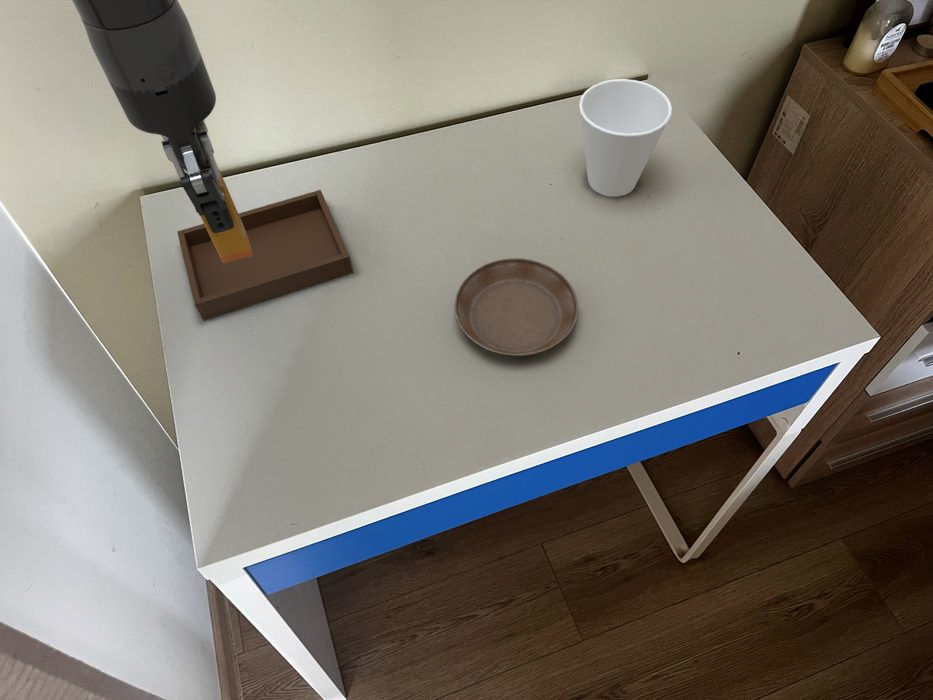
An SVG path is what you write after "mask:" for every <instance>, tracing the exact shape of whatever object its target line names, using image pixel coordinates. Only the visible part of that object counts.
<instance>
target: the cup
mask: <svg viewBox="0 0 933 700" xmlns="http://www.w3.org/2000/svg"><path fill="white" fill-rule="evenodd" d="M578 109H579V114H580V120H581V130H582V131H581V132H582V138H583V139H582V140H583V149H584V157H585V165H586V166H585V167H586V173H587V174H586V175H587V181H588V184H589V187H590V188H591V189H592V190H593V191H594V192H596V193H598V194H599V195H602V196H605V197H610V198H611V197H612V198H614V197H622V196H626V195H628V194H630V193H631V192H632V191H633V190H634V189H635V188H636V186H637V183H638V182H639V180H640V177H641V176H642V174H643V172H644V170H645V168H646V165H647V164H648V162H649V160H650V158H651V157H652V154H653V152H654V150H655V148H656V146H657V144H658V142H659V140H660V138H661V136H662V134H663V132H664V130H665V128H666V127H667V125H668V123H669V121H670V119H671V118H672V114H673V107H672V104H671V100H670V99H669V98H668V97H667V95H666V94H665V93H664V92H663V91H662V90H660V89H659V88H658V87H656V86H654V85H652V84H649V83H647V82H644V81H640V80H636V79H629V78H628V79H627V78H614V79H608V80H604V81H600V82H598V83H595V84H593V85H591V86H590V87H589V88H587V89H586V90H585V91H584V92H583V94H582V95H581V97H580V98H579V102H578Z"/></svg>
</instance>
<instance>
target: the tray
mask: <svg viewBox="0 0 933 700" xmlns="http://www.w3.org/2000/svg"><path fill="white" fill-rule="evenodd" d="M238 214H239V216H240V219H241V221H242V223H243V226H244V228H245V230H246V233H247V235H248V239H249V242H250V246H251V250H252V256H250V257H245V258H241V259H238V260H234V261H231V262H228V263H223V262H222V261H221V259H220V257H219V254H218V252H217V250H216V248H215V246H214V244H213V242H212V240H211V237H210V235H209V233H208V231H207V229H206V227H205V225H204V223H202V224H198V225H194V226H191V227H187V228H184V229H180V230H177V231H176V233H177V237H178V240H179V245H180V249H181V254H182V258H183V262H184V266H185V270H186V274H187V278H188V283H189V287H190V291H191V296H192V299H193V304H194V306H195V308H196V310H197V312H198V313H199V315H200V317H201V319H202V321H205V320H208V319H211V318H215V317H218V316H221V315H224V314H227V313H230V312H234V311H236V310H241V309H243V308H247V307H249V306H252V305H255V304H259V303H262V302H265V301H268V300H271V299H274V298H278V297H280V296H283V295H287V294H289V293H293V292H296V291H300V290H303V289H305V288H309V287H313V286H315V285H319V284H322V283H324V282H329V281H331V280H333V279H337V278H340V277H343V276H347V275H350V274H352V273H354V270H353V265H352V261H351V257H350V254H349V252H348V250H347V247H346V245H345V243H344V240H343V238H342V235H341V233H340V231H339V229H338V226H337V224H336V222H335V220H334V217H333V215H332V212H331V210H330V208H329V206H328V204H327V201H326V199H325V196H324V193H323V192H322V189H318V190H315V191H311V192H307V193H305V194H300V195H298V196H294V197H291V198H287V199H284V200H281V201H277V202H273V203H270V204H266V205H263V206H260V207H256V208H253V209H250V210H246V211H242V212H238Z"/></svg>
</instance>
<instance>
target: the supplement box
mask: <svg viewBox="0 0 933 700" xmlns="http://www.w3.org/2000/svg"><path fill="white" fill-rule="evenodd" d="M207 169H209V168H207ZM207 169H204V170H207ZM204 170H201V171H204ZM219 172H220V176H221V177H220V180H219V181H218V184H219V186H220V189H221V191H222V192H223V193H224V195H225V197H224V199H225V201H226V205H227V208H228V210H229V213H230V215H231V217H232V220H233V223H234V227H233V228H232V229H230V230H226V231H223V232H219V233H213V232H212V231H211V229H210V226H209V224H208V222H207V220H206V218H205V215H201V216H200V215H199V217H200V219H201V221H202V224H204V225H205V227H206V229H207V231H208V233H209V235H210V237H211V240H212V242H213V244H214V246H215V248H216V250H217V252H218V254H219V257H220V259H221V261H222V262H223V263H228V262H231V261H234V260H238V259H241V258H245V257H250V256H252V250H251V246H250V242H249V239H248V235H247V233H246V230H245V228H244V226H243V223H242V221H241V219H240V216H239V212H238V210H237V207H236V205H235V202H234V200H233V198H232V196H231V193H230V191H229V189H228V186H227V183H226V182H225V179H224V178H223V174H222V173H221V170H220V169H219Z"/></svg>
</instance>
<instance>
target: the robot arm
mask: <svg viewBox="0 0 933 700" xmlns="http://www.w3.org/2000/svg"><path fill="white" fill-rule="evenodd" d="M71 1H72V3H73V5H74V7H75V9H76V11H77V13H78V15H79V17H80V20H81V22H82V24H83V26H84V30H85V32H86V35H87V38H88V42H89V43H90V46H91V49H92V50H93V53H94V55H95V57H96V59H97V61H98V63H99V65H100V67H101V69H102V71H103V73H104V74H105V75H104V76H105V77H106V79H107V81H108V83H109V84H110V87H111V89H112V90H113V92H114V95H115V96H116V98H117V100H118V102H119V105H120V107H121V109H122V111H123V112H124V114H125V116H126V118H127V120H128V122H129V123H130V124H131V125H132V127H135V128H136V129H137V130H139V131H141V132H144V133H147V134H152V135H159V136H161V137H162V140H161V141H160V142H161V146H162V149H163V151H164V153H165V156H166V159H167V160H168V161H169V162H171V163H172V165H173V167H174V169H175V171H176V173H177V176H178V178H179V180H180V181H179V184H180V187H181V188H183V190H184V192H185V193H186V195H187V197H188V198H189V200H190V202H191V204H192V206H193V207H194V209H195V212H196V213H197V214H198V216H199V217H200V216H201V215H205V218H206V220H207V222H208V224H209V226H210V229H211V231H212V232H213V233H219V232H223V231H226V230H230V229H232V228H233V227H234V223H233V220H232V217H231V215H230V213H229V210H228V208H227V205H226V201H225V199H224V197H225V195H224V193H223V192H222V191H221V189H220V186H219V184H218V181H219V180H220V177H221V176H220V173H221V171H220V172H219V170H220V168H219V166H218V163H217V161H216V158H215V156H214V154H215V150H214V147H213V143H212V141H211V138H210V135H209V130H208V126H207V123H206V119H207V118H208V117H209V116H210V115H211V113H212V112H213V110H214V109H215V106H216V101H217V94H216V91H215V88H214V86H213V83H212V80H211V78H210V75H209V72H208V70H207V67H206V64H205V61H204V59H203V56H202V54H201V53H202V52H201V51H200V49H199V46H198V43H197V40H196V37H195V33H194V32H193V29H192V26H191V24H190V22H189V19H188V16H187V15H186V13H185V11H184V9H183V8H182V6H181V4H180V2H179V0H71ZM207 168H209V169H207ZM204 169H207V170H204ZM201 170H204V171H201Z"/></svg>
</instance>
